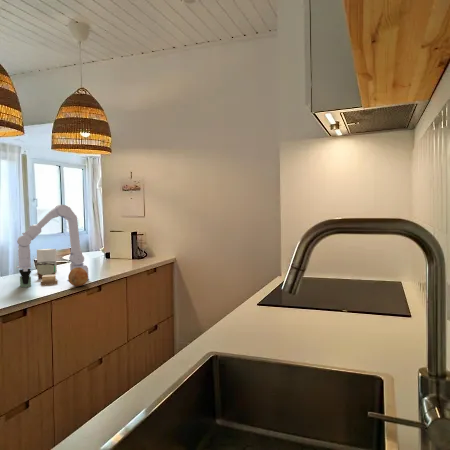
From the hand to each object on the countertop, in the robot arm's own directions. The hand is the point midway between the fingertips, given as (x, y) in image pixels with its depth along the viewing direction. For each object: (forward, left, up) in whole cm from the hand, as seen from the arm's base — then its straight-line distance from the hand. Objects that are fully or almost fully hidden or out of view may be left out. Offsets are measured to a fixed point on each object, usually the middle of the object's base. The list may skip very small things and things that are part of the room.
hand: (25, 283), depth 209 cm
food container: (+7, -22, -2) cm, 23 cm away
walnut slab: (-7, -9, -2) cm, 12 cm away
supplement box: (+31, -43, -2) cm, 53 cm away
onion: (-29, -8, -2) cm, 30 cm away
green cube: (0, 0, -2) cm, 2 cm away
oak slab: (-7, -9, 0) cm, 12 cm away
